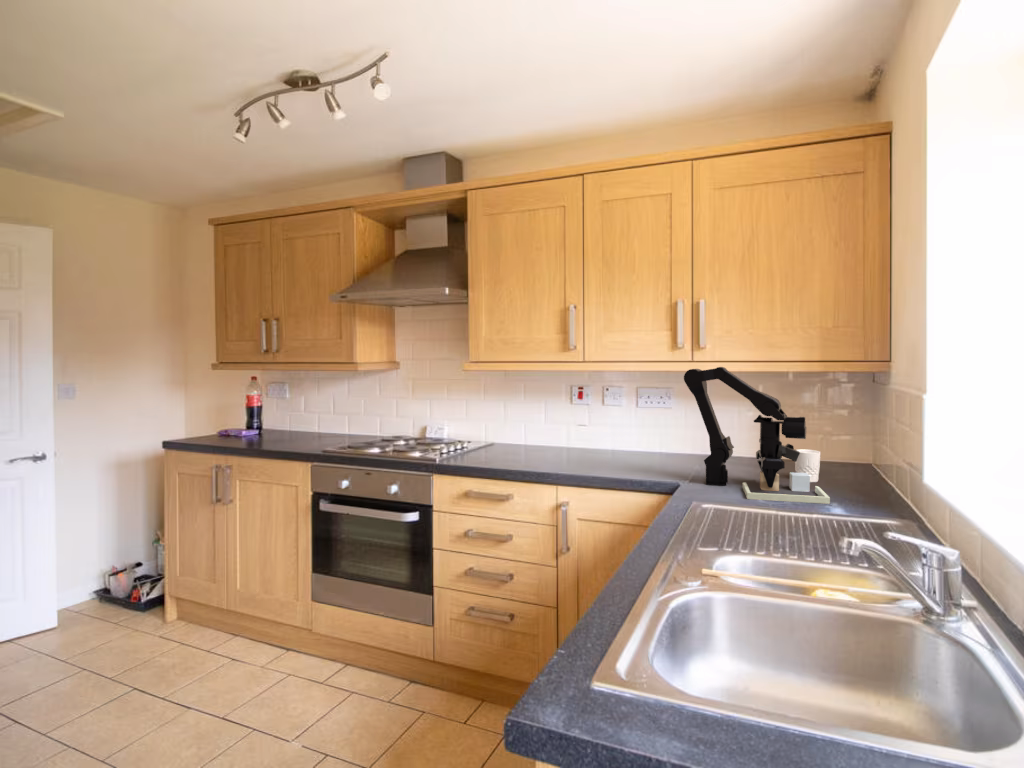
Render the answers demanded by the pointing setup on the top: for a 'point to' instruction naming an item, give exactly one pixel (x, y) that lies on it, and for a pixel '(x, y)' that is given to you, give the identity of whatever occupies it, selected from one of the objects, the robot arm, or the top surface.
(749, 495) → the tray
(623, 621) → the top surface
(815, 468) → the white cup
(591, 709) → the top surface
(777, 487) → the beech block
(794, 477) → the blue block
